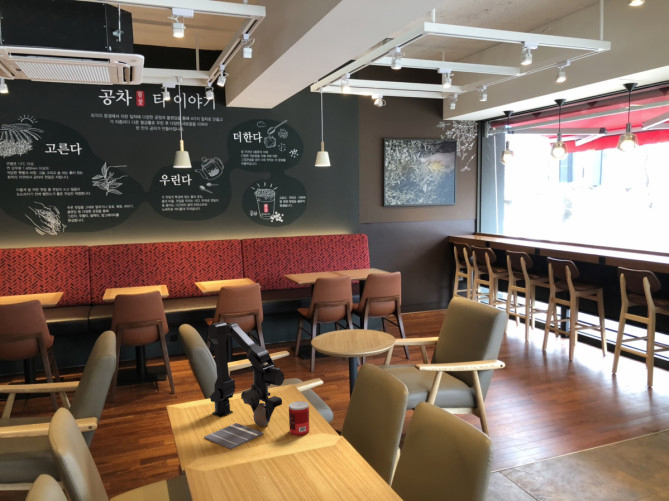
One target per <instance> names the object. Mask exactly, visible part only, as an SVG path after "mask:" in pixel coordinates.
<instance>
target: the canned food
mask: <svg viewBox="0 0 669 501" xmlns="http://www.w3.org/2000/svg"><path fill="white" fill-rule="evenodd" d="M288 422H289V426H288V427H289V433H290V435H293V436H295V437H301V436H305V435H307V434H308V433H309V432H310V406H309V402H307V401H303V400H300V401H299V400H298V401H294V402H290V404H289V405H288Z"/></svg>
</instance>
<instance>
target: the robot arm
mask: <svg viewBox="0 0 669 501" xmlns="http://www.w3.org/2000/svg"><path fill="white" fill-rule="evenodd" d="M207 334H208V338H209V340H210V342H211V343H212V344H213V350H214V358H215V359H214V360H215V368H216V379H215V382H214V391H213V392H212V393H211V394H210V396H209V400H210V402H211V403H214V411H213V412H211V414H212V415H214V416H216V417H217V416H218V417H220V418H223V417H225V416H228V415H231V414H232V413H233V410H231V404H230V399H231V398H232V399H233V397H234V393H235V391H236V389H237V387H236V381H235V379H234V378H232V377H231V376H230V371H229V364H228V363H229V360H228V353H227V344H226V343H227V339H228V338H229V336H230V337H231V338H232V339H233V340H234V341H235V342H236V343H237V344H238V346H239V347H240V348H242V350H243V351H245V354H246V358H247V360H248V361H249V362H250V364H251V366H250V367H249V368H248V369H249V371H252V372H253V375H252V376H253V383H252V384H251V385H250V388H249V389H247V390H244V391H242V392H241V394H240V398H241V400H242V401H243V404H245V405H249V406H250V408H251V411H252V413H253V414H254V411H255V410H256V408H257V407H258V405H259V403H261V402H263V403H264V404H265V405H266V406H263V408H265V410H266V419H267V421H269V420H270V421H271V418H272V415H273V413H274V410H275V408H277V407H280V406H282V405H283V398H281V397H280V396H275V395H274V396H271V392H269V387H271V385H274V386H277V387H280V386H281V385H283V383H284V381H285V374H284V372H283V371H281V370H282V369H281V367H276V365H275V362H274V360H273V359H272V357H271V355H270V352H269V350H267V349H266V348H264V347H263V346H261V345H259V344H256V343H255V342H254V341H253V340H252V339H251V338H250V337H249V336H248V335H247V333H245V331H243V329H242V328H241V327H240V325H239V324H238V323H237V322H227V323H226V322H225V321H220V322H214V323H212V324H210V325H209V326H208V327H207ZM270 396H271V397H270Z"/></svg>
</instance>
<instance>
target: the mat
mask: <svg viewBox="0 0 669 501" xmlns="http://www.w3.org/2000/svg"><path fill="white" fill-rule="evenodd" d="M262 435H264V432H262V431H259V430H257V429H254V428H251V427H249V426H246V425H243V424H241V423H238V422H236V423H233V424H230V425H228V426H225V427H224V428H221V429H219V430H216V431H214V432H211V433H209V434H207V435H205V436H203V438H204V439H205V440H208V441H210V442H212V443H215V444H217V445H219V446H222V447H224V448H227V449H230V450H233V449H235V448H237V447H239V446H241V445H243V444H247V443H248V442H250V441H251V440H254V439H257V438H259V437H260V436H262Z"/></svg>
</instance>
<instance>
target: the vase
mask: <svg viewBox="0 0 669 501" xmlns="http://www.w3.org/2000/svg"><path fill="white" fill-rule="evenodd" d="M263 406H266V405H265V402H259V405H258V407H257V408H256V410H255V411H254V413H253V421H254V424H255V425H256V426H257V427H261V428H262V427H266V426H268V425H269V423H270V422H271V419H270V420H269V421H267V419H266V410H265V408H263Z"/></svg>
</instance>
